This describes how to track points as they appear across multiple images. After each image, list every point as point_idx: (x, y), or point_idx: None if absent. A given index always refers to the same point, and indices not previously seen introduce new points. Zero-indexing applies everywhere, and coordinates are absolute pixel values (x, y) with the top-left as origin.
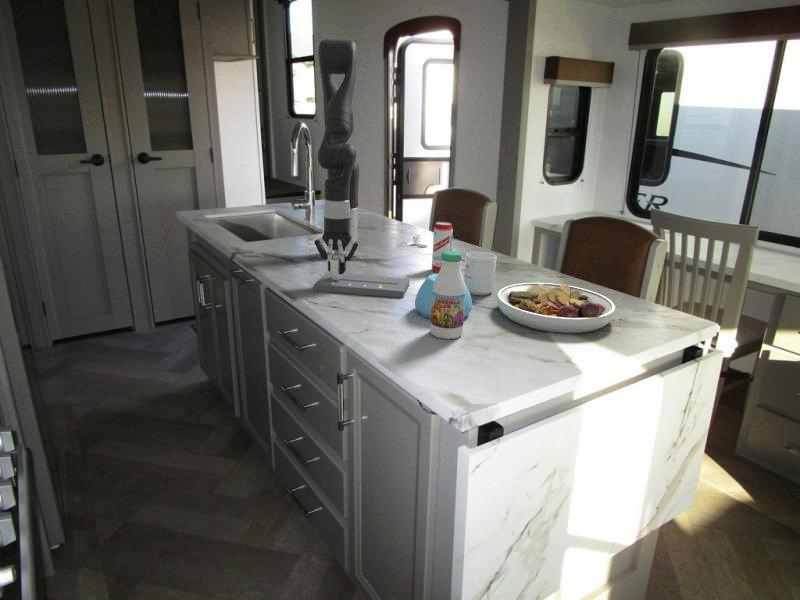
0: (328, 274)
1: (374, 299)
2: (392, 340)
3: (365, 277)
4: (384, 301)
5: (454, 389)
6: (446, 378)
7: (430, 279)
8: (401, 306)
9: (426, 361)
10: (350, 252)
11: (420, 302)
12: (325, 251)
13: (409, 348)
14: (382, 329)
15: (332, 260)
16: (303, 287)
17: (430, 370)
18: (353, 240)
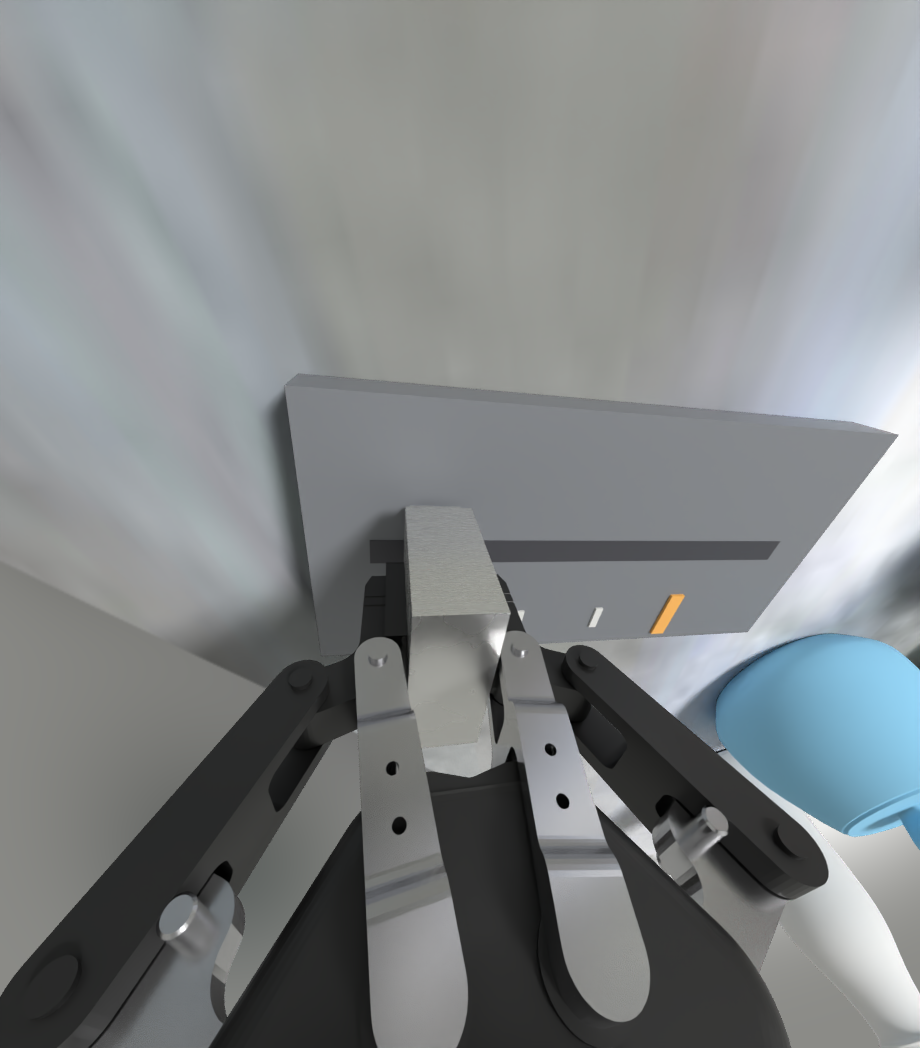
0: (332, 455)
1: (608, 646)
2: (603, 804)
3: (622, 471)
4: (640, 653)
5: (650, 851)
6: (650, 842)
7: (847, 831)
8: (684, 674)
9: (640, 827)
10: (612, 777)
11: (739, 762)
12: (295, 742)
13: (626, 813)
14: (593, 783)
15: (423, 744)
16: (239, 596)
17: (637, 838)
18: (757, 947)
